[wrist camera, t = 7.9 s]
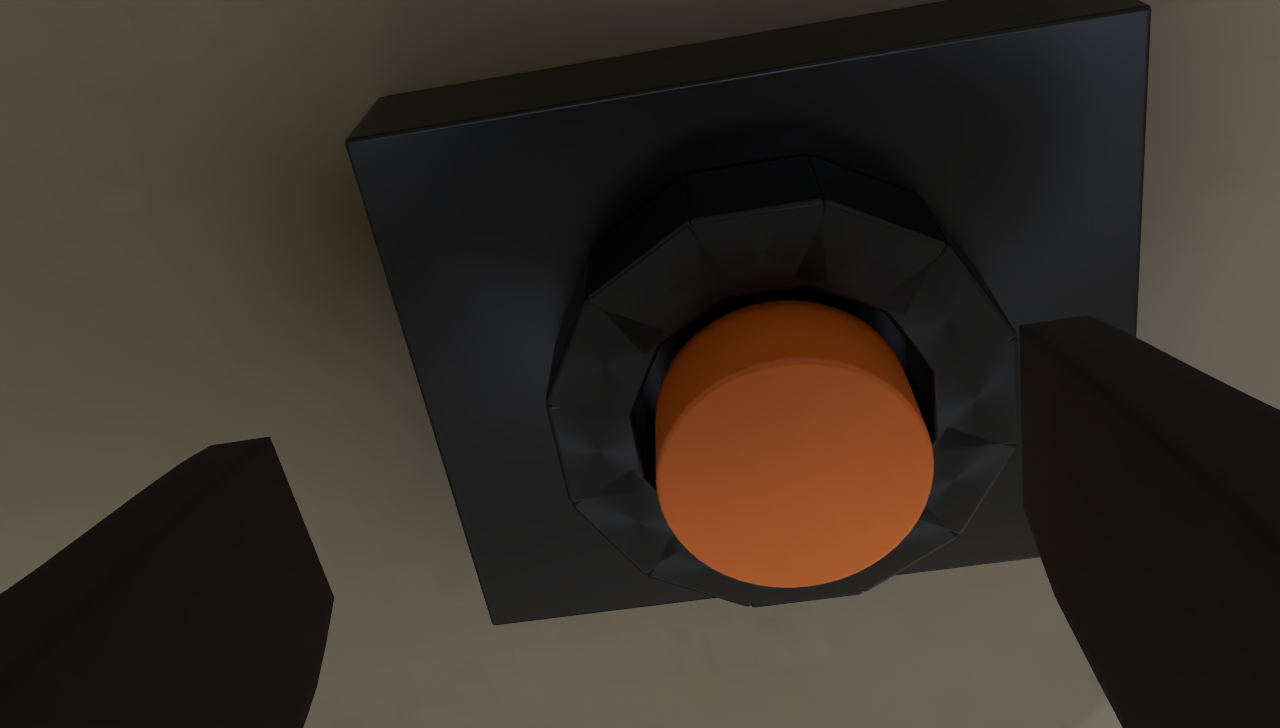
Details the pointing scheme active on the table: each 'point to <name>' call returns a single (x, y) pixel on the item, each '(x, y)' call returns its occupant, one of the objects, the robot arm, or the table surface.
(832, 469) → the button
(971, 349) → the button box
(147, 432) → the table surface
